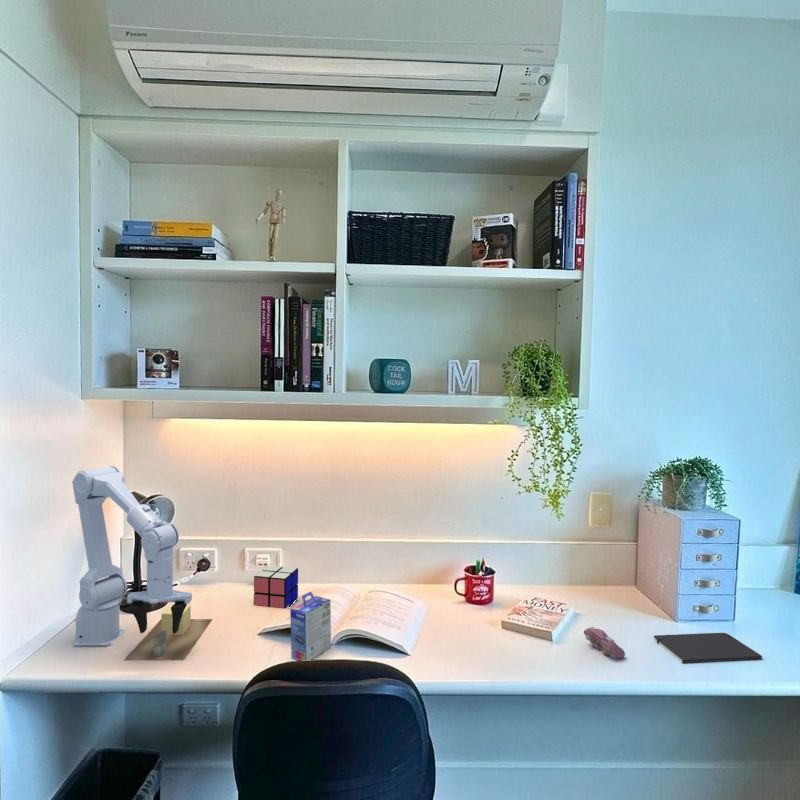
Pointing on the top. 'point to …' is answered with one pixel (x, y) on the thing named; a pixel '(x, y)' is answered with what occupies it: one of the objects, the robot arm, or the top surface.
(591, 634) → the reddish brown lumpy piece
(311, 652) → the ink cartridge box
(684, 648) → the notebook
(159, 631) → the tan flat slab
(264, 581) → the puzzle cube
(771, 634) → the top surface
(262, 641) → the top surface
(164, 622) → the block
